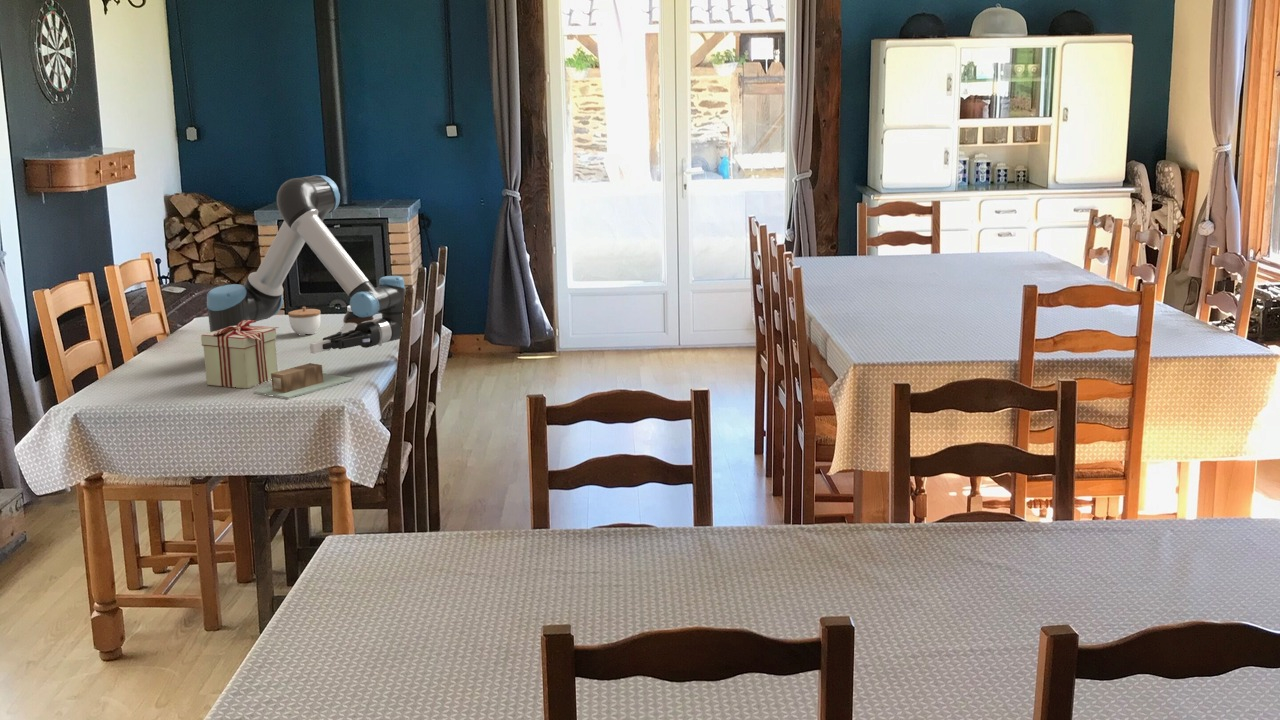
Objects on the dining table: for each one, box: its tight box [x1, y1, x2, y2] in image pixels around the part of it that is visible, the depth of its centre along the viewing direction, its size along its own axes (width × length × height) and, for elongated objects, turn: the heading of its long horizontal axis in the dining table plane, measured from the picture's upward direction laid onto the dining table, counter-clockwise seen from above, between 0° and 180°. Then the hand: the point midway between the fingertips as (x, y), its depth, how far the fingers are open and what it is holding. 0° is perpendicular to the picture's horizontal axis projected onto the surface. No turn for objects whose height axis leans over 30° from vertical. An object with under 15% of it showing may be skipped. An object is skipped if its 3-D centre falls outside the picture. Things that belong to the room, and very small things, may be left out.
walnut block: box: [271, 362, 324, 393], centre depth 344 cm, size 5×5×14 cm
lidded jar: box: [287, 306, 322, 336], centre depth 421 cm, size 11×11×9 cm
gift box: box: [200, 320, 280, 389], centre depth 353 cm, size 17×18×17 cm
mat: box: [254, 373, 355, 399], centre depth 346 cm, size 24×14×1 cm, turn 146°
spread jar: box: [339, 304, 375, 333], centre depth 405 cm, size 12×11×12 cm
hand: (311, 348), depth 346 cm, fingers closed
